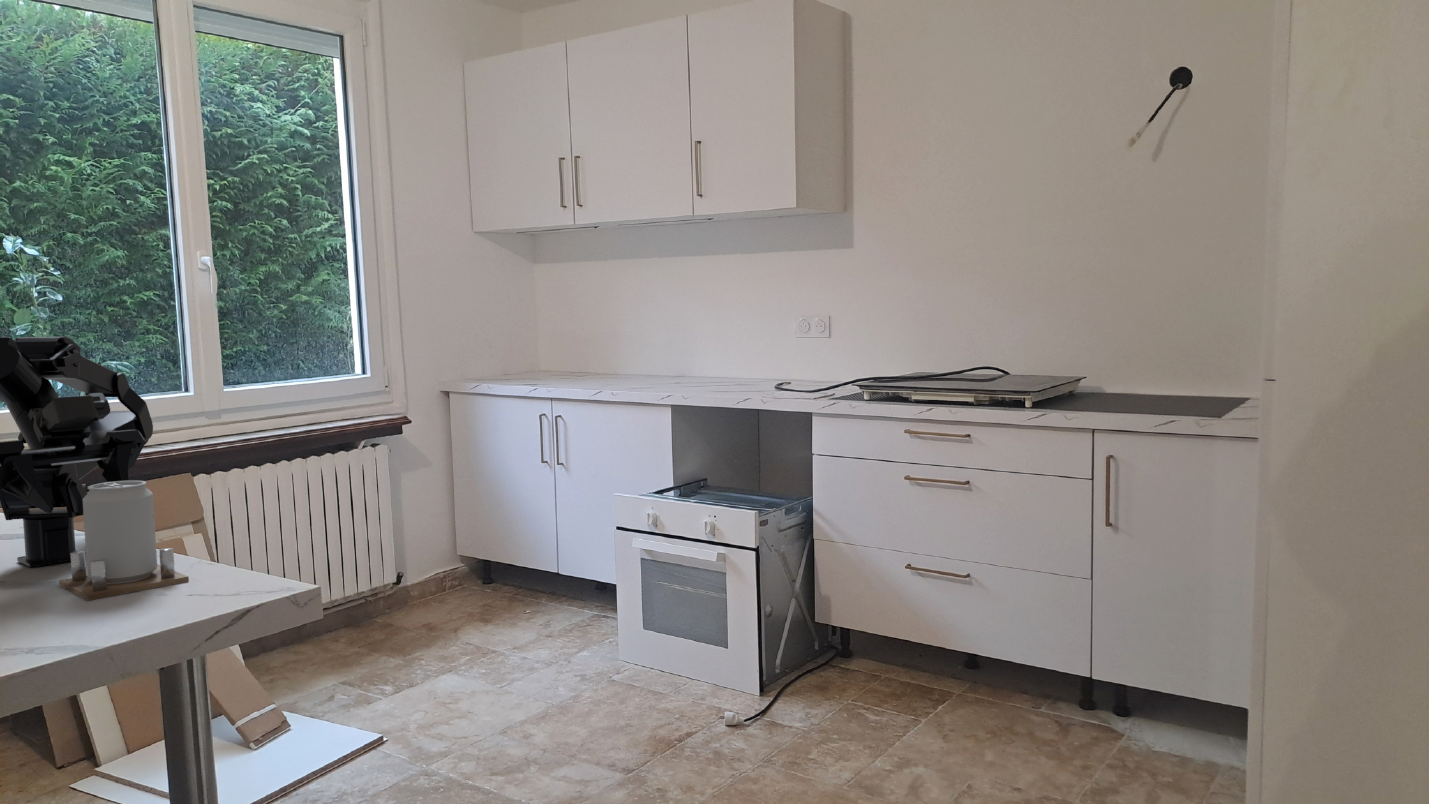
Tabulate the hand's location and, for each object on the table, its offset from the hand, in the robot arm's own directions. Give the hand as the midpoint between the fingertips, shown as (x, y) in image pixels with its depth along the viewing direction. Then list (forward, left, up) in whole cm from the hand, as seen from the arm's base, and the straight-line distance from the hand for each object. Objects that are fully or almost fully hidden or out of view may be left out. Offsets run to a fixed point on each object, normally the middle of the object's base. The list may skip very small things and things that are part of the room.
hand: (90, 504), depth 125 cm
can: (+7, +1, -9) cm, 12 cm away
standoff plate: (+8, +1, -9) cm, 12 cm away
